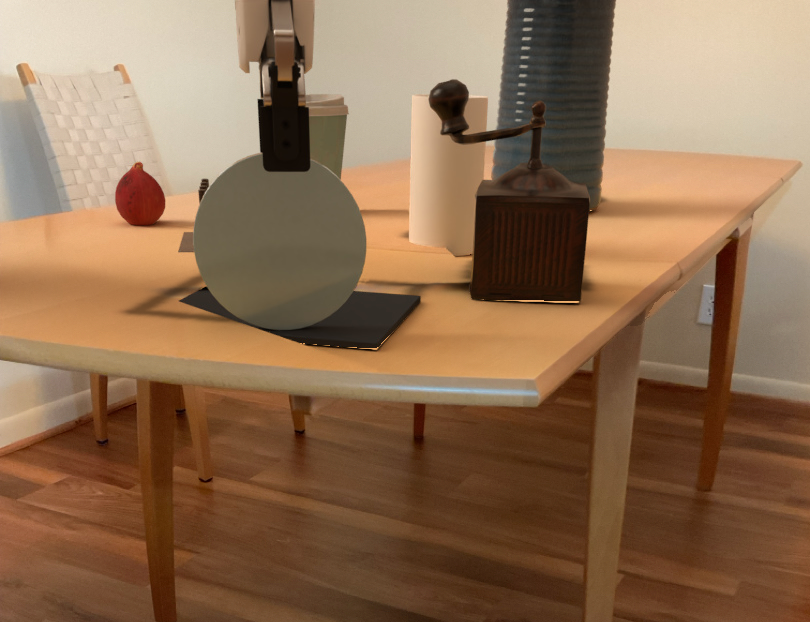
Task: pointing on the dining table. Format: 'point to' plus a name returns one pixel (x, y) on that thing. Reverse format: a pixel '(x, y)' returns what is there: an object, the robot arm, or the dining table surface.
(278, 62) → the robot arm
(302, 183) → the plate
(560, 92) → the vase
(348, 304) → the mat
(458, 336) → the dining table surface
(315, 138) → the disposable coffee cup
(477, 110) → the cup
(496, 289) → the manual coffee grinder
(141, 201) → the pomegranate
